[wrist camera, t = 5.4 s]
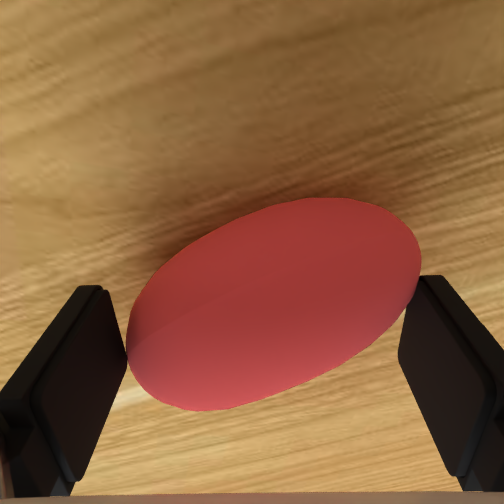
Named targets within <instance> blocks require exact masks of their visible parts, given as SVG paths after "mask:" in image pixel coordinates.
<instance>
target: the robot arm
mask: <svg viewBox="0 0 504 504" xmlns="http://www.w3.org/2000/svg"><path fill="white" fill-rule="evenodd" d="M398 360H399V364H400V366H401V368H402V370H403V373H404V375H405V377H406V379H407V382H408V384H409V386H410V388H411V391H412V393H413V395H414V397H415V400H416V402H417V404H418V406H419V408H420V411H421V413H422V415H423V417H424V420H425V422H426V424H427V426H428V429H429V431H430V433H431V435H432V438H433V440H434V442H435V444H436V447H437V449H438V451H439V453H440V455H441V458H442V460H443V462H444V464H445V467H446V469H447V471H448V473H449V474H450V475H451V476H456V477H457V479H458V481H459V483H460V486H461V488H462V490H463V491H483V492H443V491H422V492H294V493H214V494H152V495H96V496H70V494H71V492H72V489H73V487H74V484H75V482H76V481H80V480H81V479H82V478H83V476H84V474H85V471H86V469H87V466H88V464H89V462H90V459H91V457H92V454H93V452H94V449H95V447H96V444H97V442H98V439H99V437H100V434H101V432H102V429H103V427H104V424H105V422H106V419H107V417H108V414H109V412H110V409H111V407H112V404H113V402H114V399H115V397H116V394H117V392H118V389H119V387H120V384H121V382H122V379H123V377H124V374H125V372H126V369H127V355H126V351H125V348H124V344H123V341H122V337H121V333H120V330H119V326H118V323H117V319H116V315H115V312H114V308H113V305H112V301H111V297H110V294H109V292H108V290H103V288H102V286H100V285H83V286H79V287H77V289H76V290H75V291H74V293H73V294H72V295H71V297H70V298H69V299H68V301H67V302H66V303H65V305H64V306H63V307H62V309H61V310H60V312H59V313H58V314H57V316H56V317H55V318H54V320H53V321H52V322H51V324H50V325H49V326H48V328H47V329H46V330H45V332H44V333H43V335H42V336H41V337H40V339H39V340H38V341H37V343H36V344H35V345H34V347H33V348H32V349H31V351H30V352H29V353H28V355H27V356H26V358H25V359H24V360H23V362H22V363H21V364H20V366H19V367H18V368H17V370H16V371H15V372H14V374H13V375H12V376H11V378H10V379H9V381H8V382H7V383H6V385H5V386H4V387H3V389H2V390H1V391H0V504H504V350H503V348H502V347H501V346H500V345H499V344H498V342H497V341H496V340H495V339H494V337H493V336H492V335H491V334H490V332H489V331H488V330H487V329H486V327H485V326H484V325H483V324H482V323H481V322H480V321H479V320H478V318H477V317H476V316H475V315H474V313H473V312H472V311H471V310H470V309H469V307H468V306H467V305H466V304H465V302H464V301H463V300H462V299H461V297H460V296H459V295H458V294H457V292H456V291H455V290H454V289H453V287H452V286H451V285H450V284H449V282H448V281H447V280H446V279H445V278H444V277H443V276H442V275H424V276H419V280H418V283H417V287H416V290H415V293H414V295H413V297H412V299H411V300H410V302H409V303H408V305H407V307H406V312H405V317H404V322H403V328H402V333H401V338H400V343H399V348H398ZM50 496H62V497H50Z"/></svg>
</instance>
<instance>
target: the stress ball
mask: <svg viewBox="0 0 504 504" xmlns="http://www.w3.org/2000/svg"><path fill="white" fill-rule="evenodd" d="M420 270H421V252H420V248H419V245H418V242H417V240H416V238H415V236H414V234H413V233H412V231H411V230H410V229H409V228H408V227H407V226H406V225H405V224H404V223H403V222H402V221H401V220H400V219H398V218H397V217H396V216H395V215H393V214H392V213H390V212H389V211H388V210H386V209H384V208H382V207H380V206H378V205H373V204H369V203H365V202H361V201H357V200H353V199H350V198H305V199H300V200H295V201H290V202H285V203H280V204H275V205H271V206H269V207H266V208H263V209H261V210H258V211H256V212H253V213H250V214H248V215H245V216H242V217H240V218H237V219H235V220H233V221H231V222H229V223H227V224H225V225H223V226H221V227H219V228H217V229H215V230H214V231H212V232H210V233H208V234H206V235H205V236H203V237H201V238H199V239H198V240H196V241H194V242H193V243H191V244H190V245H188V246H186V247H185V248H184V249H182V250H181V251H180V252H179V253H177V254H176V255H175V256H174V257H172V258H171V259H170V260H169V261H167V262H166V263H165V264H164V265H163V266H161V267H160V268H159V269H158V270H157V271H156V272H155V273H154V275H153V276H152V278H151V279H150V280H149V282H148V283H147V284H146V286H145V287H144V289H143V290H142V291H141V293H140V294H139V296H138V297H137V299H136V300H135V303H134V305H133V307H132V310H131V313H130V318H129V323H128V328H127V334H126V354H127V360H128V363H129V366H130V369H131V371H132V373H133V375H134V376H135V378H136V380H137V381H138V383H139V384H140V385H141V386H142V387H143V389H144V390H145V391H146V392H148V393H149V394H150V395H151V396H153V397H154V398H156V399H157V400H159V401H161V402H163V403H165V404H169V405H172V406H175V407H178V408H181V409H184V410H190V411H210V410H224V409H230V408H234V407H237V406H240V405H244V404H247V403H251V402H254V401H258V400H261V399H264V398H266V397H269V396H272V395H274V394H277V393H279V392H282V391H284V390H287V389H289V388H292V387H294V386H297V385H299V384H302V383H304V382H307V381H309V380H311V379H313V378H315V377H317V376H319V375H321V374H323V373H325V372H327V371H329V370H332V369H334V368H336V367H338V366H339V365H341V364H342V363H344V362H345V361H347V360H348V359H350V358H351V357H353V356H354V355H356V354H358V353H359V352H361V351H362V350H364V349H365V348H367V347H368V346H369V345H371V344H372V343H373V342H374V341H375V340H376V339H377V338H378V337H380V336H381V335H382V334H383V333H384V332H385V331H386V330H387V329H388V328H390V327H391V326H392V325H393V323H394V322H395V321H396V320H397V319H398V317H399V316H400V314H401V313H402V312H403V310H404V309H405V308H406V306H407V305H408V303H409V302H410V300H411V299H412V297H413V295H414V293H415V290H416V287H417V283H418V280H419V275H420Z"/></svg>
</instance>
